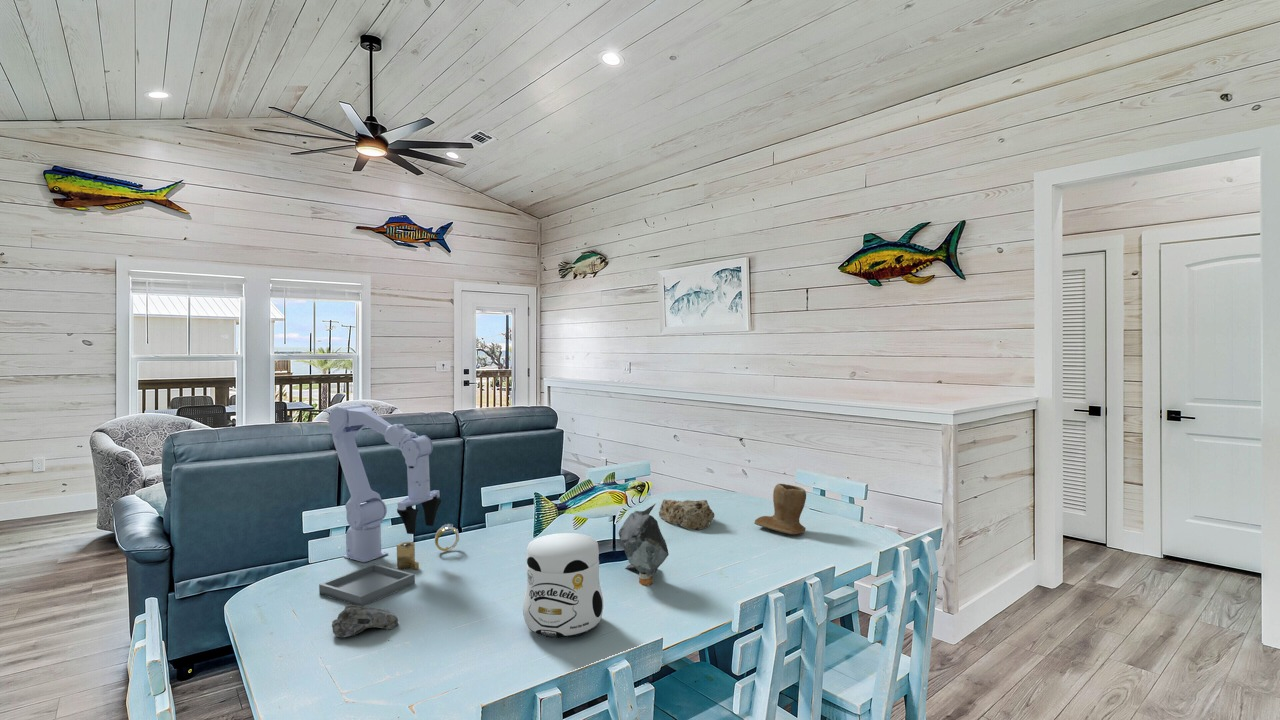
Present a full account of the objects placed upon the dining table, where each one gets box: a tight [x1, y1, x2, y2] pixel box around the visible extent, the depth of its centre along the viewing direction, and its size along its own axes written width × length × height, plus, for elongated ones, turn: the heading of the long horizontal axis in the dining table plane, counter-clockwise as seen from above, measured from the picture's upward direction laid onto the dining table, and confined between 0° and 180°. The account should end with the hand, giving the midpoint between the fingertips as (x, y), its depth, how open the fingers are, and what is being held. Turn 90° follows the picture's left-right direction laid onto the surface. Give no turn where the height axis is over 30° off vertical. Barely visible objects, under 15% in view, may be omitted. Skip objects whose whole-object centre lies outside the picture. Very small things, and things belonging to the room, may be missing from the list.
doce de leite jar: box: [522, 532, 604, 639], centre depth 131 cm, size 17×17×18 cm
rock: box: [658, 499, 715, 531], centre depth 207 cm, size 20×14×10 cm
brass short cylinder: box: [396, 541, 420, 570], centre depth 166 cm, size 7×5×6 cm
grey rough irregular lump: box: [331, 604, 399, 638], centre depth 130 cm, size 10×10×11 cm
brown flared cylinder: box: [753, 483, 807, 535], centre depth 197 cm, size 15×12×15 cm
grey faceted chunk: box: [618, 503, 670, 586], centre depth 157 cm, size 14×15×18 cm
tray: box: [318, 563, 416, 607], centre depth 152 cm, size 16×16×2 cm
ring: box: [434, 523, 460, 552], centre depth 178 cm, size 7×3×8 cm, turn 121°
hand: (420, 529), depth 167 cm, fingers open, 7 cm apart
